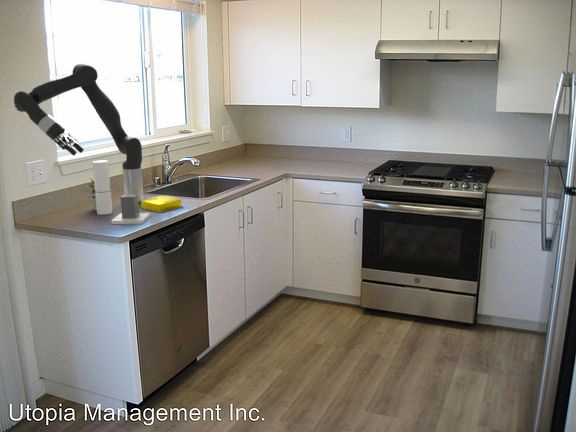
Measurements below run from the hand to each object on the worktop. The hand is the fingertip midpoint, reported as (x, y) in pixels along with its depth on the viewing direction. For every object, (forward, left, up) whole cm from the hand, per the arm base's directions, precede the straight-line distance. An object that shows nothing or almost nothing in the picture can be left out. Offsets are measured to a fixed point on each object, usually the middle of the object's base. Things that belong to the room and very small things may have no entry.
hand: (79, 152), depth 271 cm
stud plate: (+4, +23, -31) cm, 38 cm away
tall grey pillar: (+4, +23, -29) cm, 37 cm away
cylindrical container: (-10, +6, -31) cm, 33 cm away
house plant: (-19, -1, -31) cm, 36 cm away
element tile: (-21, +31, -31) cm, 49 cm away
